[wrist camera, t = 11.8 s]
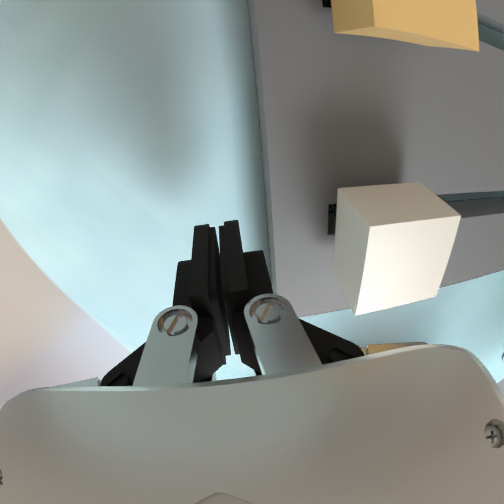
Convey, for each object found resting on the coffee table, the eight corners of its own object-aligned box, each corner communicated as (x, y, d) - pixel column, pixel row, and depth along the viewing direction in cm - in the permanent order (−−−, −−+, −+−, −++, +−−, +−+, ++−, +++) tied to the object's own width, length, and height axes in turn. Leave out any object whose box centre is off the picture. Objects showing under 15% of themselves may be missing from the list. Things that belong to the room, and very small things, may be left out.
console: (559, 13, 7) (576, 17, 5) (530, 244, 19) (543, 256, 18) (235, -100, 6) (238, -120, 4) (272, 296, 19) (278, 321, 17)
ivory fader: (393, 163, 14) (461, 215, 9) (385, 231, 16) (435, 296, 12) (319, 167, 14) (369, 226, 9) (318, 240, 16) (355, 315, 11)
